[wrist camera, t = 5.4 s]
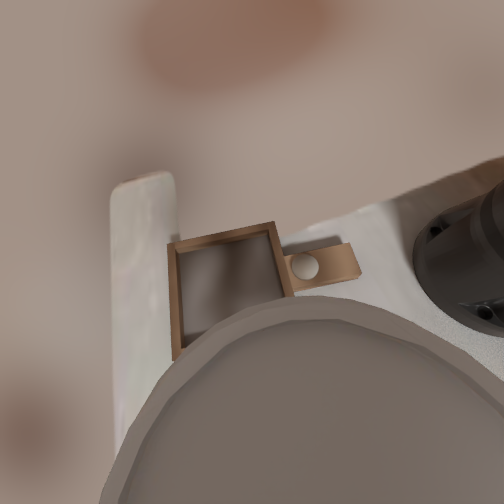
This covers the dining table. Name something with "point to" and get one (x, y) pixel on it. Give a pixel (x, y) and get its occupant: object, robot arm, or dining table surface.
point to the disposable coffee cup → (316, 415)
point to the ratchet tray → (242, 276)
